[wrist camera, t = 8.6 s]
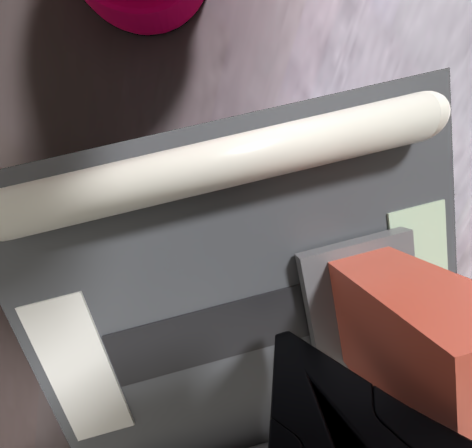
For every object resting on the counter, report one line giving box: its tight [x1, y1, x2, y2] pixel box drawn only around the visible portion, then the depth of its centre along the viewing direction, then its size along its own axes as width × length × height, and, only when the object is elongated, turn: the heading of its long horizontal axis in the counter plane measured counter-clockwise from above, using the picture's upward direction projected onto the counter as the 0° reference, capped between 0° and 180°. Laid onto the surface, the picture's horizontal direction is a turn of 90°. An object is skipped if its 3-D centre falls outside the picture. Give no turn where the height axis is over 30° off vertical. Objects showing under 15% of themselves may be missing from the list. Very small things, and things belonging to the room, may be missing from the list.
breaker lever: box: [295, 227, 472, 440], centre depth 7 cm, size 4×5×5 cm
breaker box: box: [0, 67, 457, 448], centre depth 11 cm, size 18×16×6 cm
